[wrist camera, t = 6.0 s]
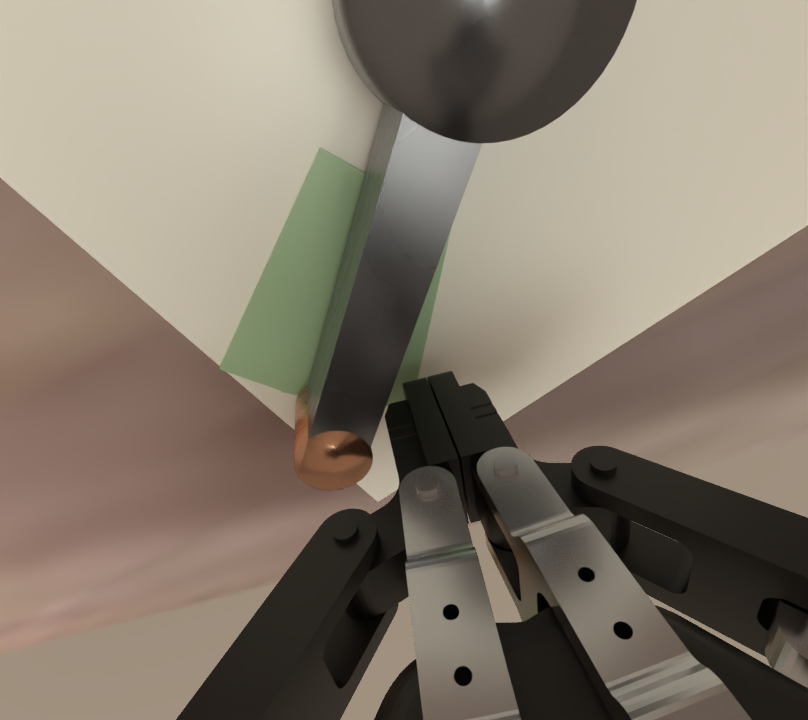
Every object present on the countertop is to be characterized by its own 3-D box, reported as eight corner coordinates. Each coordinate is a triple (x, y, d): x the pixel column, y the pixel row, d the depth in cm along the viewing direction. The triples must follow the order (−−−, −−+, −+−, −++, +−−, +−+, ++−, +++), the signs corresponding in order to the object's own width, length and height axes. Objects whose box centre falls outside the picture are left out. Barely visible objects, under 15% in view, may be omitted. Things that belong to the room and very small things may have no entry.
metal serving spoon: (371, -241, 8) (399, -362, 6) (610, -102, 10) (709, -154, 7) (237, 416, 14) (224, 485, 12) (397, 439, 16) (413, 504, 14)
